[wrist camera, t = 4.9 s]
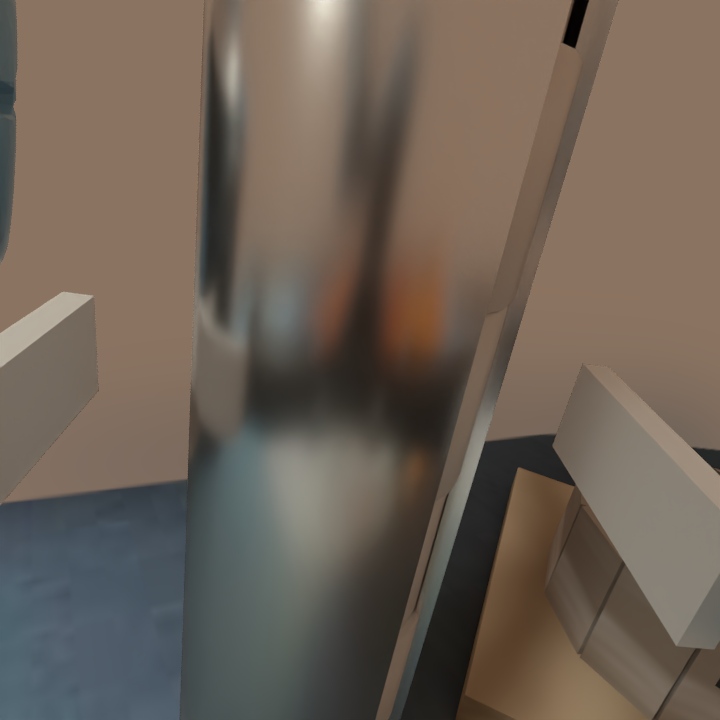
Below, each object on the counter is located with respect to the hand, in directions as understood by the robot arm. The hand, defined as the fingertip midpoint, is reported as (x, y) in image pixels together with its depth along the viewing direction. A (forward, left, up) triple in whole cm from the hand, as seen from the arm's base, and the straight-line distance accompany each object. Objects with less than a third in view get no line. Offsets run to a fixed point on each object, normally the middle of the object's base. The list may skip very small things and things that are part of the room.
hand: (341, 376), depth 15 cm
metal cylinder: (+1, -2, -13) cm, 13 cm away
